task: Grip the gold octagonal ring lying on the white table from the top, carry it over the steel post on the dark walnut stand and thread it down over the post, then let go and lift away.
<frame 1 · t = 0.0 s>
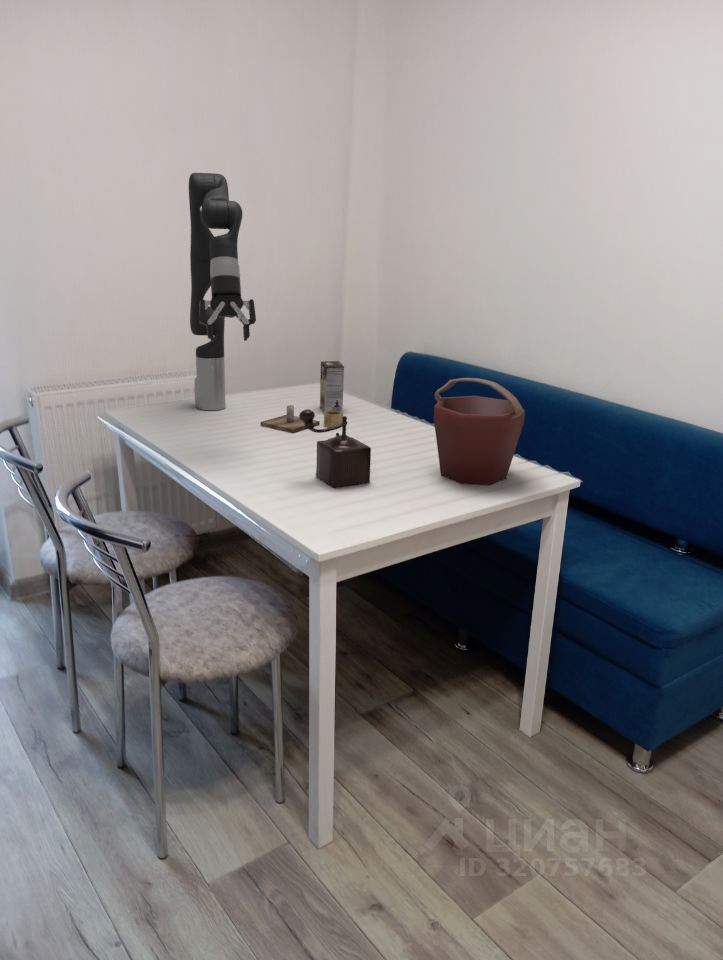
hand: (228, 340, 206), 31 cm above the table, tool tilted 20°, fingers open, 8 cm apart
manual coffee grinder: (333, 481, 201), on the table
coffee box: (331, 411, 270), on the table
gold octagonal ring: (333, 425, 251), on the table
post stand: (290, 425, 250), on the table
bucket: (473, 475, 209), on the table
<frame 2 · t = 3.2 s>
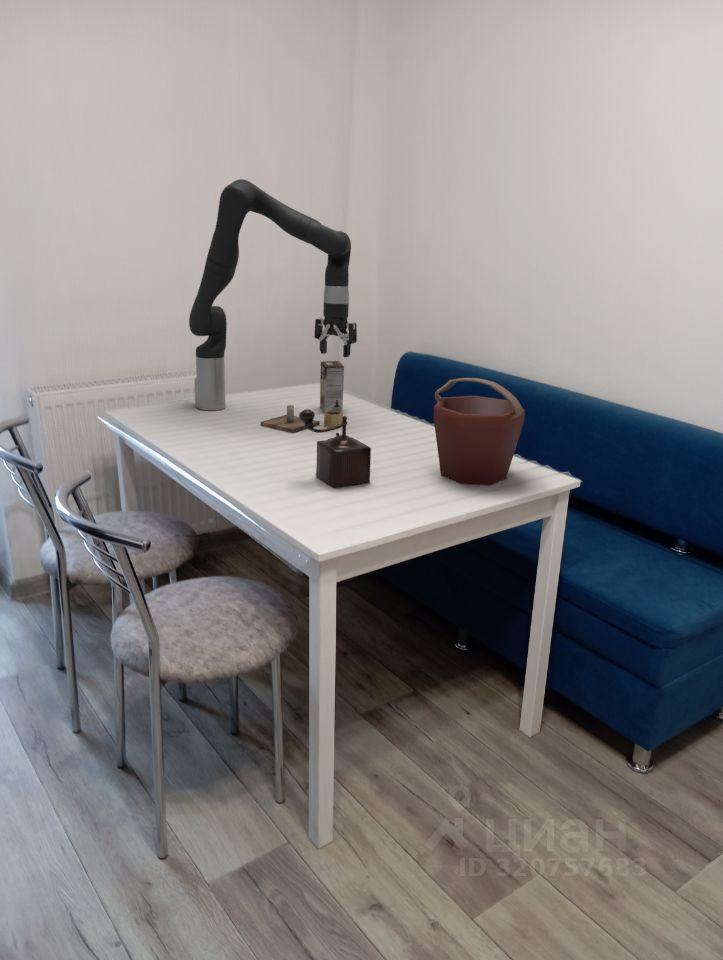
hand: (334, 355, 244), 22 cm above the table, tool pointing down, fingers open, 8 cm apart
nothing on the table moved.
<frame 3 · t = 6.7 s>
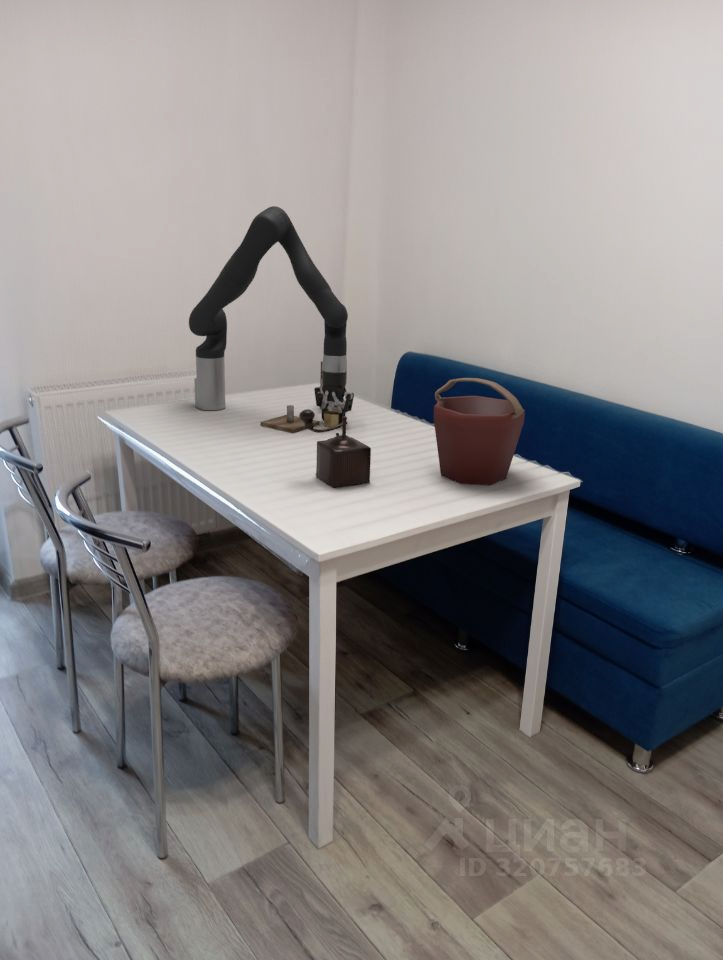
hand: (333, 422, 251), 1 cm above the table, tool pointing down, fingers closed on gold octagonal ring, 5 cm apart
gold octagonal ring: (333, 425, 251), on the table, touching gripper
everything else where it was.
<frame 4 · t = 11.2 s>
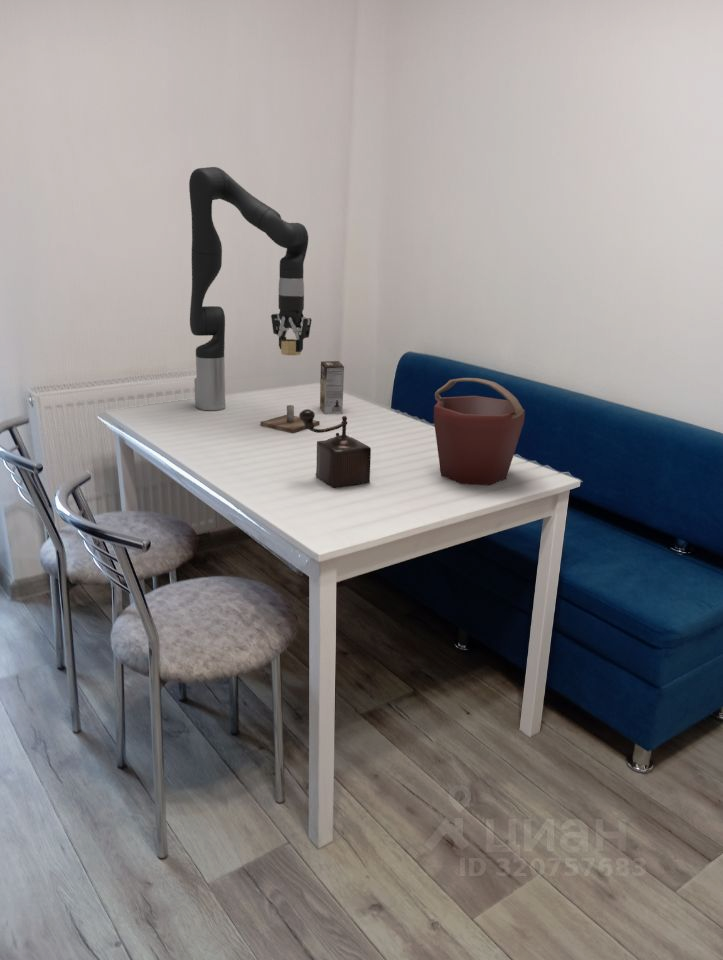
hand: (290, 350, 242), 23 cm above the table, tool pointing down, fingers closed on gold octagonal ring, 5 cm apart
gold octagonal ring: (290, 353, 243), point 22 cm above the table, touching gripper
everything else where it was.
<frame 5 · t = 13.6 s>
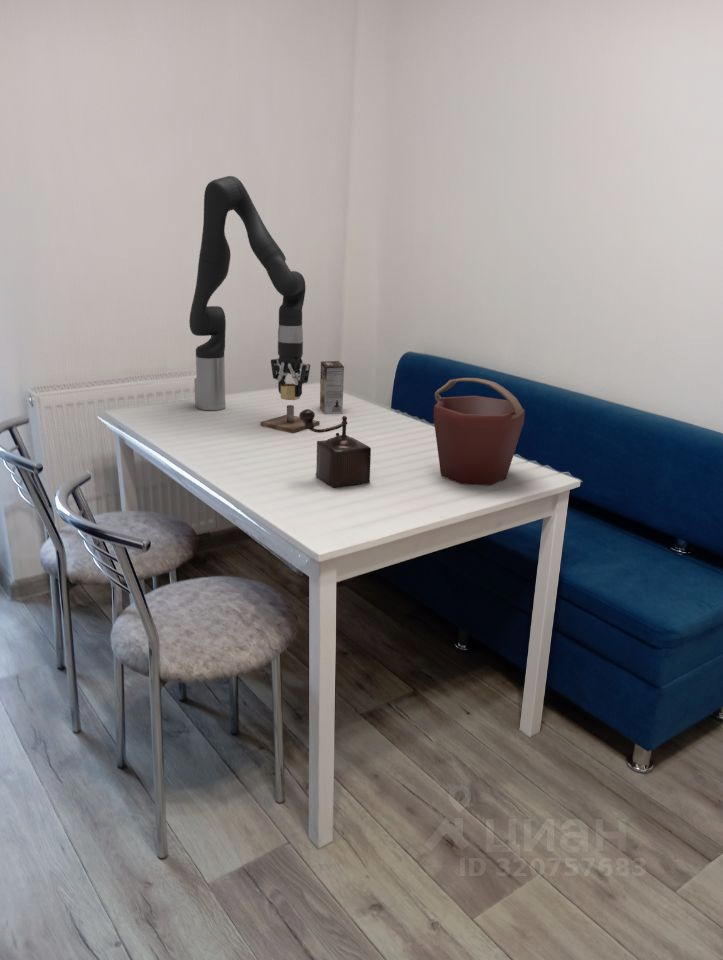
hand: (290, 394, 246), 10 cm above the table, tool pointing down, fingers closed on gold octagonal ring, 5 cm apart
gold octagonal ring: (290, 398, 247), point 9 cm above the table, touching gripper
everything else where it was.
when the fingers open (4 cm above the table, at t = 15.7 s): gold octagonal ring drops 1 cm, resting on post stand.
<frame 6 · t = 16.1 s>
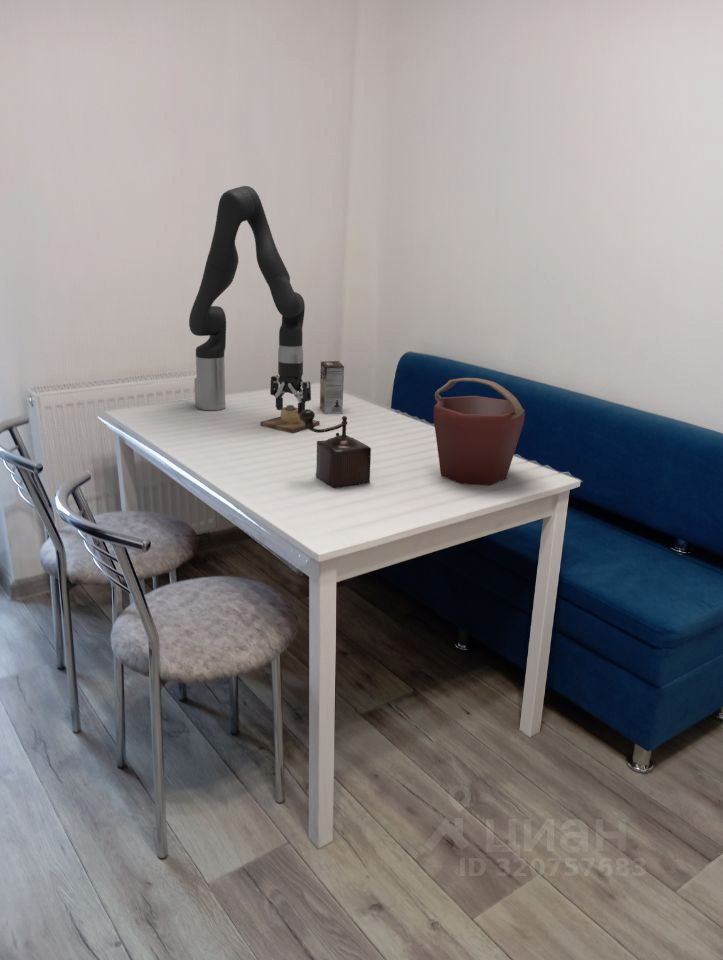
hand: (290, 411, 248), 4 cm above the table, tool pointing down, fingers open, 8 cm apart
gold octagonal ring: (290, 421, 249), point 1 cm above the table, touching post stand
everything else where it was.
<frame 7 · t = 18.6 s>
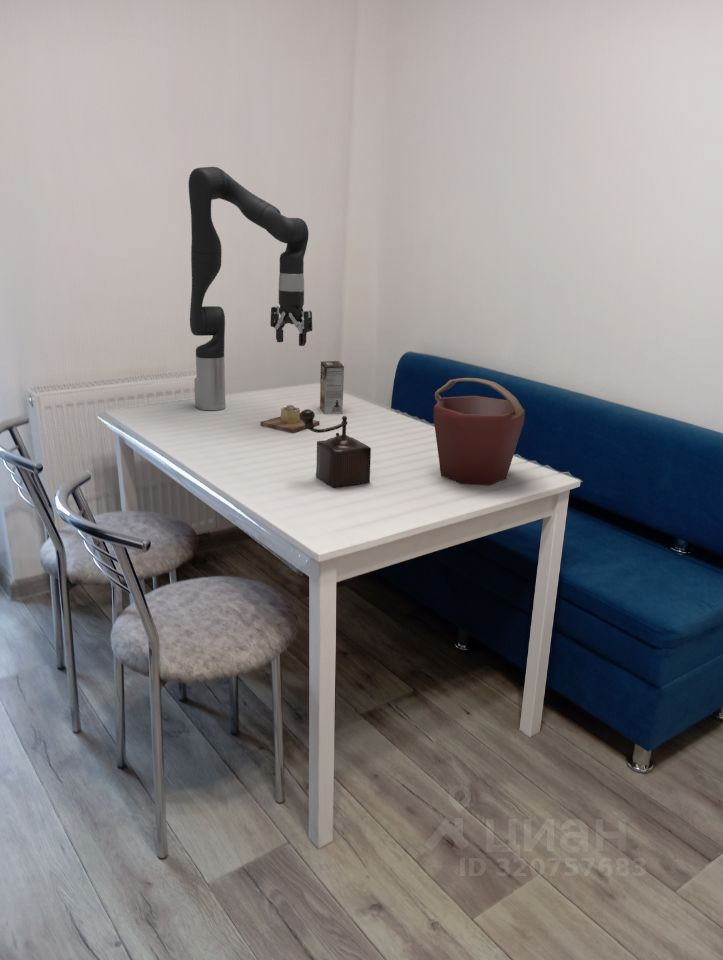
hand: (291, 343, 242), 25 cm above the table, tool pointing down, fingers open, 8 cm apart
nothing on the table moved.
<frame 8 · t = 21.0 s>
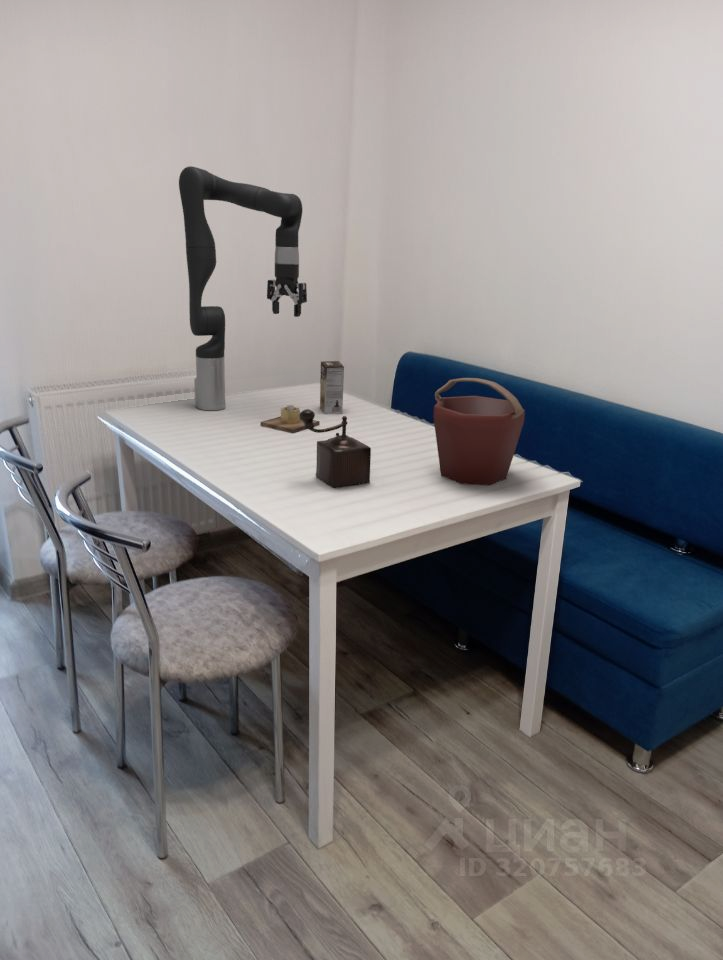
hand: (286, 315, 252), 32 cm above the table, tool pointing down, fingers open, 8 cm apart
nothing on the table moved.
at the end: gold octagonal ring 0.1 cm off-centre on the post stand, point 1.2 cm above the post stand's base; gold octagonal ring tilted 0°; the gripper is holding nothing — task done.
